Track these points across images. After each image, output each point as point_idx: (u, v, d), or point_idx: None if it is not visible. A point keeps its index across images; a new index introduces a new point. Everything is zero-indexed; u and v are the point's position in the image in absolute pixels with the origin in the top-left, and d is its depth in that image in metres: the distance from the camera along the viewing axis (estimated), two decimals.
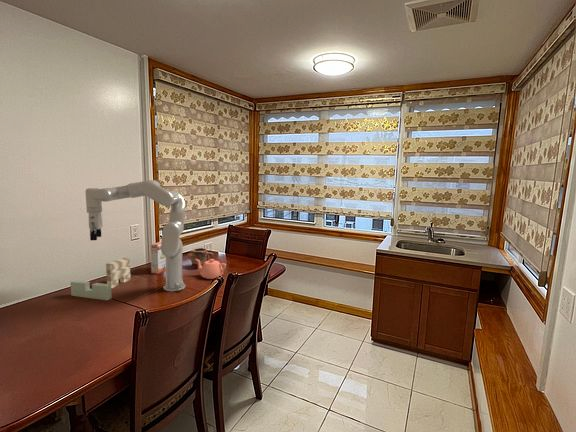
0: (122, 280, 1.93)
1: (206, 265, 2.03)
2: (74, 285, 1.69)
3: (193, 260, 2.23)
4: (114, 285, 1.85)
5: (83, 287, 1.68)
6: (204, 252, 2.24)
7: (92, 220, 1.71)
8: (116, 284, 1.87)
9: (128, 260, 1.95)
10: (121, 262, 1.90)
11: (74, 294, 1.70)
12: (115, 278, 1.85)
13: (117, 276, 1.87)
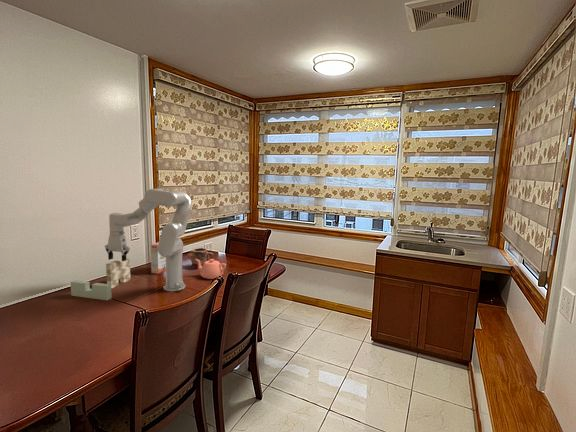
0: (122, 280, 1.93)
1: (206, 265, 2.03)
2: (74, 285, 1.69)
3: (193, 260, 2.23)
4: (114, 285, 1.85)
5: (83, 287, 1.68)
6: (204, 252, 2.24)
7: (123, 242, 1.86)
8: (116, 284, 1.87)
9: (128, 260, 1.95)
10: (121, 262, 1.90)
11: (74, 294, 1.70)
12: (115, 278, 1.85)
13: (117, 276, 1.87)
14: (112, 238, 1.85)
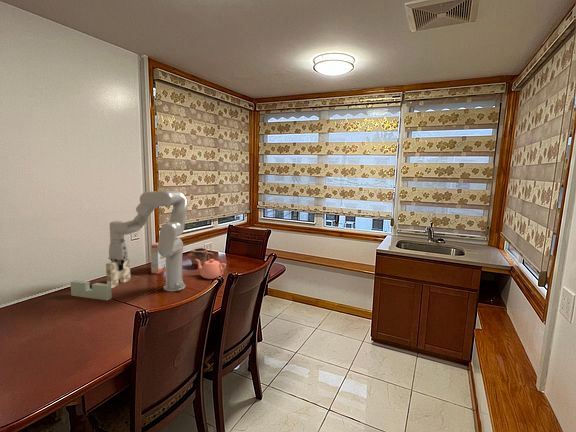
0: (122, 280, 1.93)
1: (206, 265, 2.03)
2: (74, 285, 1.69)
3: (193, 260, 2.23)
4: (114, 285, 1.85)
5: (83, 287, 1.68)
6: (204, 252, 2.24)
7: (124, 250, 1.87)
8: (116, 284, 1.87)
9: (128, 260, 1.95)
10: None
11: (74, 294, 1.70)
12: (115, 278, 1.85)
13: (117, 276, 1.87)
14: (113, 246, 1.85)
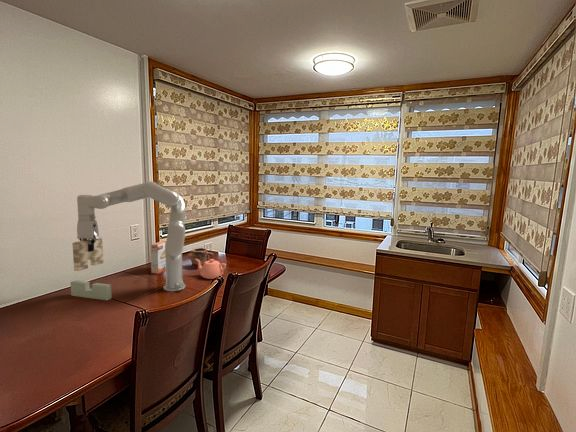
0: (93, 263, 1.69)
1: (206, 265, 2.03)
2: (74, 285, 1.69)
3: (193, 260, 2.23)
4: (82, 268, 1.62)
5: (83, 287, 1.68)
6: (204, 252, 2.24)
7: (94, 228, 1.63)
8: (85, 267, 1.63)
9: (100, 240, 1.72)
10: None
11: (74, 294, 1.70)
12: (84, 260, 1.62)
13: (86, 257, 1.63)
14: (81, 223, 1.62)
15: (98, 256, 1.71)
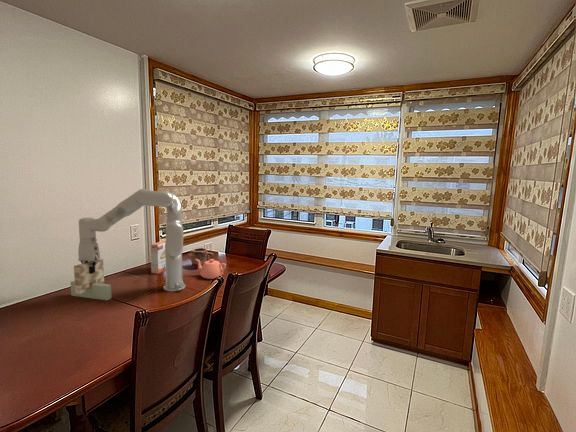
0: None
1: (206, 265, 2.03)
2: (74, 285, 1.69)
3: (193, 260, 2.23)
4: (84, 290, 1.63)
5: None
6: (204, 252, 2.24)
7: (96, 251, 1.65)
8: (86, 289, 1.65)
9: (101, 261, 1.74)
10: None
11: (74, 294, 1.70)
12: (85, 282, 1.64)
13: (87, 279, 1.65)
14: (82, 246, 1.64)
15: (99, 277, 1.73)
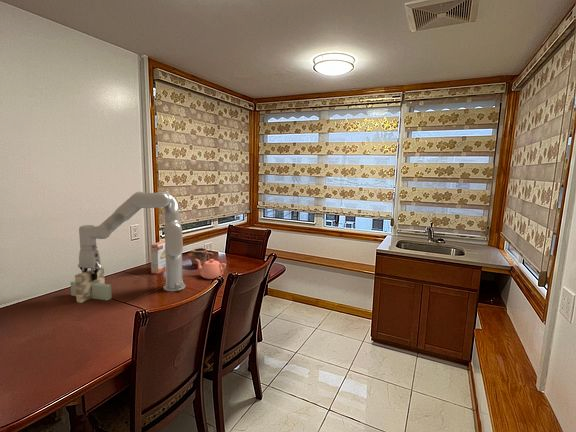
0: None
1: (206, 265, 2.03)
2: (74, 285, 1.69)
3: (193, 260, 2.23)
4: (85, 299, 1.64)
5: None
6: (204, 252, 2.24)
7: (96, 258, 1.66)
8: (87, 298, 1.66)
9: (102, 270, 1.74)
10: None
11: (74, 294, 1.70)
12: (86, 291, 1.65)
13: (88, 288, 1.66)
14: (83, 253, 1.64)
15: None
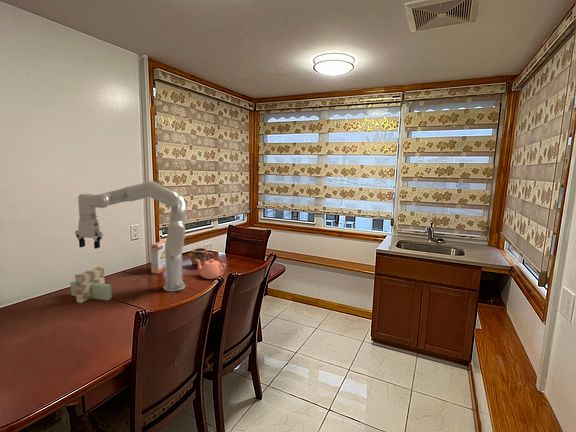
0: None
1: (206, 265, 2.03)
2: (74, 285, 1.69)
3: (193, 260, 2.23)
4: (85, 299, 1.64)
5: None
6: (204, 252, 2.24)
7: (96, 227, 1.64)
8: (87, 298, 1.66)
9: (102, 270, 1.74)
10: (94, 273, 1.69)
11: (74, 294, 1.70)
12: (86, 291, 1.65)
13: (88, 288, 1.66)
14: (82, 222, 1.63)
15: None
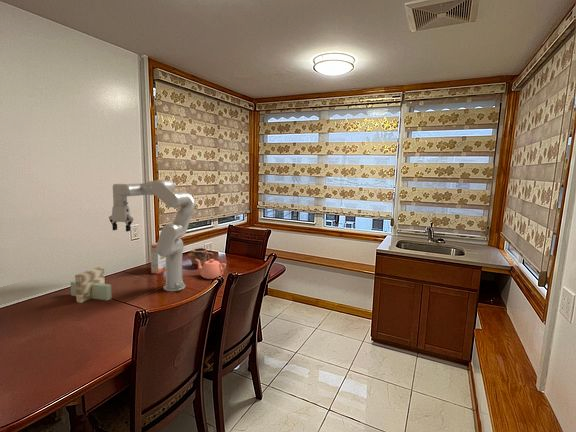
0: None
1: (206, 265, 2.03)
2: (74, 285, 1.69)
3: (193, 260, 2.23)
4: (85, 299, 1.64)
5: None
6: (204, 252, 2.24)
7: (127, 213, 1.88)
8: (87, 298, 1.66)
9: (102, 270, 1.74)
10: (94, 273, 1.69)
11: (74, 294, 1.70)
12: (86, 291, 1.65)
13: (88, 288, 1.66)
14: (116, 208, 1.87)
15: None
